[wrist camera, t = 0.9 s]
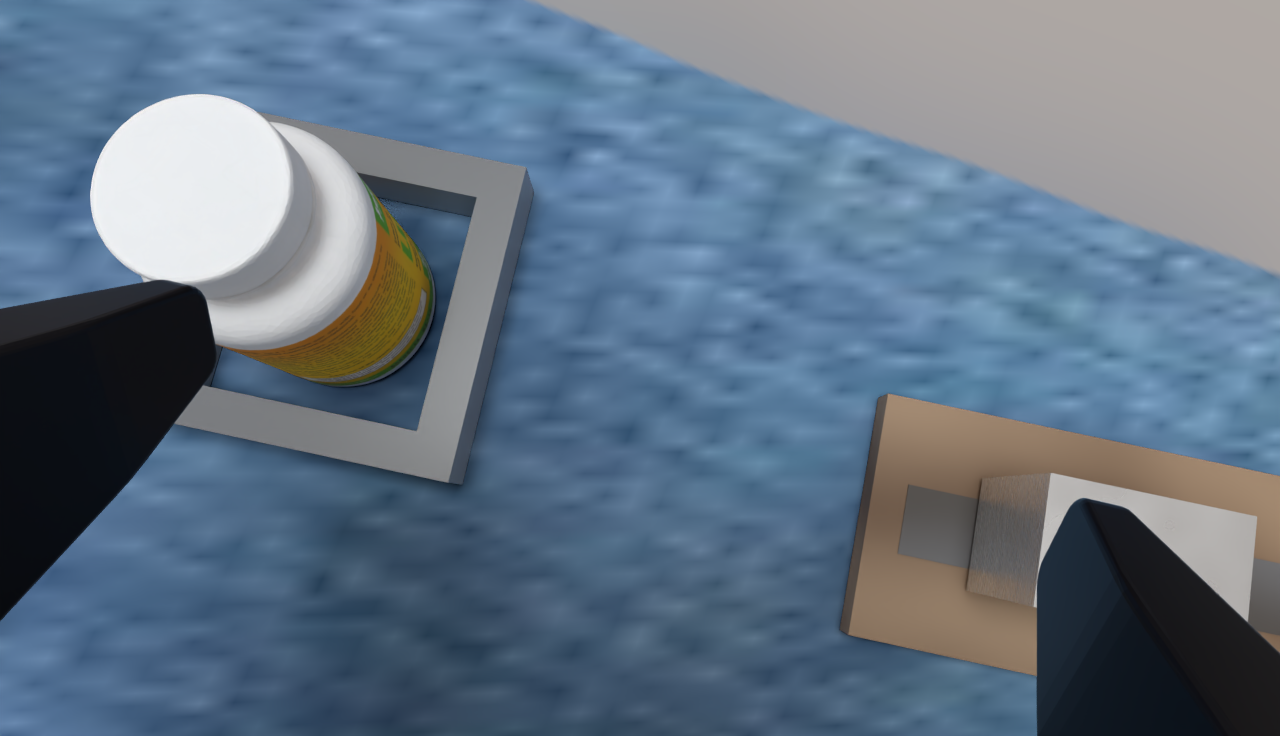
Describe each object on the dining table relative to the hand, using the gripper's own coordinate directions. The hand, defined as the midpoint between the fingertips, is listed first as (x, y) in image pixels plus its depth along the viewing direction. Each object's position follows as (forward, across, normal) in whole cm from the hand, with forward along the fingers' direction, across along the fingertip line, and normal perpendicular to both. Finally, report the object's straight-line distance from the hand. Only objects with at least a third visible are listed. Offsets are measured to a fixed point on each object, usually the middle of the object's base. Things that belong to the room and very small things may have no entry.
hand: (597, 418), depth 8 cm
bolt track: (+15, -13, +12) cm, 23 cm away
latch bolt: (+14, -10, +11) cm, 20 cm away
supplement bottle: (+14, +12, +8) cm, 20 cm away
